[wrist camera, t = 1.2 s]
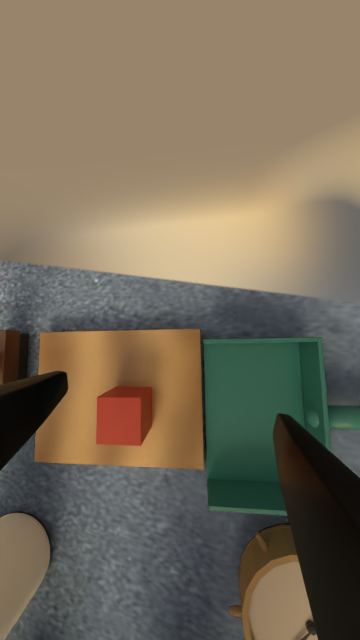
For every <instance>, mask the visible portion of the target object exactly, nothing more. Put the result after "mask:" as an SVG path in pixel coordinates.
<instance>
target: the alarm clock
mask: <svg viewBox="0 0 360 640" xmlns="http://www.w3.org/2000/svg"><path fill="white" fill-rule="evenodd" d="M238 577H239V586H240V595H241V602H242V606H237V605H234V606H229V613H230V614H231V615H234V616H236V617H242V618H243V627H244V636H245V640H318V637H317V633H316V629H315V625H314V621H313V617H312V613H311V609H310V605H309V601H308V597H307V593H306V589H305V585H304V581H303V577H302V573H301V569H300V564H299V560H298V556H297V552H296V548H295V544H294V540H293V536H292V532H291V528H290V525H283V524H280V525H277V526H274V527H271V528H267V529H264V530H263V531H261V532H260V533H259V532H256V533H255V537H254V538H253V539H252V540H250V542H249V544H248V546H247V547H246V549H245V551H244V553H243V554H242V557H241V562H240V568H239V573H238Z"/></svg>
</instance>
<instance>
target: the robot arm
mask: <svg viewBox="0 0 360 640" xmlns="http://www.w3.org/2000/svg"><path fill="white" fill-rule="evenodd" d="M67 391H68V377H67V373H66V372H64V371H58V370H57V371H52V372H49V373H45V374H41V375H37V376H33V377H29V378H25V379H21V380H17V381H14V382H10V383H6V384H2V385H0V470H1V469H2V468H3V467H4V466H5V465H6V464H7V463H8V462H9V460H10V459H11V458H12V457H13V456H14V455H15V454H16V453H17V452H18V451H19V450H20V448H21V447H22V446H23V445H24V444H25V443H26V442H27V441H28V440H29V439H30V437H31V436H32V435H33V434H34V433H35V432H36V431H37V430H38V429H39V428H40V426H41V425H42V424H43V423H44V422H45V421H46V419H47V418H48V417H49V415H50V414H51V413H52V412H53V410H54V409H55V408H56V406H57V405H58V404H59V403H60V401H61V400H62V399H63V397H64V396H65V395H66V393H67ZM273 442H274V449H275V456H276V463H277V471H278V477H279V483H280V487H281V492H282V496H283V500H284V504H285V508H286V512H287V516H288V520H289V524H290V528H291V532H292V536H293V540H294V544H295V548H296V552H297V556H298V560H299V564H300V569H301V573H302V577H303V581H304V585H305V589H306V593H307V597H308V601H309V605H310V609H311V613H312V617H313V621H314V625H315V629H316V633H317V637H318V640H360V478H359V477H358V476H357V475H356V474H355V473H353V472H352V471H351V470H350V469H349V468H348V467H347V466H346V465H345V464H343V463H342V462H341V461H340V460H339V459H338V458H337V457H336V456H335V455H334V454H332V453H331V452H330V451H329V450H328V449H327V448H326V447H325V446H324V445H322V444H321V443H320V442H319V441H318V440H317V439H316V438H315V437H314V436H313V435H311V434H310V433H309V432H308V431H307V430H306V429H305V428H304V427H303V426H301V425H300V424H299V423H298V422H297V421H296V420H295V419H294V418H293V417H292V416H290V415H287V414H282V413H278V414H277V416H276V420H275V424H274V429H273Z"/></svg>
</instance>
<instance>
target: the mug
mask: <svg viewBox="0 0 360 640" xmlns="http://www.w3.org/2000/svg"><path fill="white" fill-rule="evenodd" d="M49 561H50V544H49V539H48V536H47V533H46V531H45V529H44V528H43V526H42V525H41V524H40V523H39V522H38V521H37V520H36V519H35V518H33V517H32V516H30V515H27V514H24V513H11V514H7V515H5V516H2V517H1V518H0V640H5V638H6V637H7V635H8V634H9V632H10V631H11V629H12V627H13V626H14V624H15V623H16V621H17V620H18V618H19V617H20V615H21V614H22V612H23V611H24V609H25V608H26V606H27V605H28V603H29V601H30V600H31V598H32V597H33V595H34V594H35V592H36V591H37V589H38V587H39V586H40V584H41V582H42V580H43V579H44V576H45V574H46V572H47V569H48V566H49Z"/></svg>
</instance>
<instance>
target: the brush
mask: <svg viewBox="0 0 360 640" xmlns="http://www.w3.org/2000/svg"><path fill="white" fill-rule="evenodd" d="M27 353H28V334H24V333H20V331H17V330H0V385H2V384H6V383H10V382H14V381H17V380H21V379H25V378H26V373H27Z"/></svg>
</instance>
